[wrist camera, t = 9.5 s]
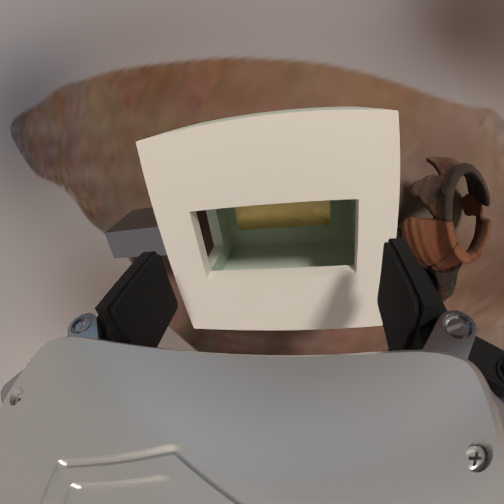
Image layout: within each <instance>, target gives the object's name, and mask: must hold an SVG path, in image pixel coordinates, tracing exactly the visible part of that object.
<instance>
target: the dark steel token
mask: <svg viewBox="0 0 504 504" xmlns="http://www.w3.org/2000/svg"><path fill="white" fill-rule="evenodd" d="M105 235H106V238H107V240H108V243H109V245H110V248H111V251H112V253H113V255H114V258H123V257H139V256H140V254H141V253H143V252H150V251H155V252H156V253H157V254H159V255H160V256H161V255H167V252H166V249H165V246H164V243H163V240H162V237H161V234H160V230H159V227H158V224H157V220H156V217H155V214H154V210H153V207H151V208H144V209H138V210H132V211H131V212H130V213H129V214H127V215H126V216H125V217H124V218H122V219H121V220H120V221H119V222H117V223H116V224H115V225H114V226H113V227H111V228H110V229H109V230H108V231H107V232H105Z"/></svg>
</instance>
